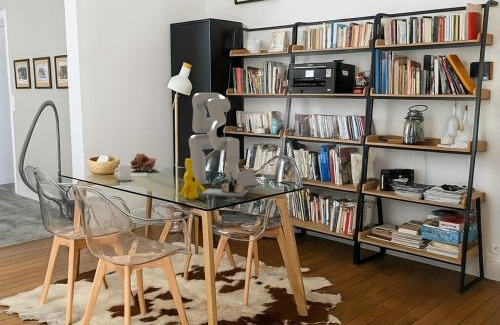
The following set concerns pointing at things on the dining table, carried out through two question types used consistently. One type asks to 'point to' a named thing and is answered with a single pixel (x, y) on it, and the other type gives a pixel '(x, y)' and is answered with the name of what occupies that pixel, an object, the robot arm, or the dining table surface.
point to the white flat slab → (219, 192)
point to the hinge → (246, 178)
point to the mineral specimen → (142, 162)
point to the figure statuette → (190, 182)
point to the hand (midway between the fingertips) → (232, 190)
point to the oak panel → (237, 187)
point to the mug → (123, 172)
